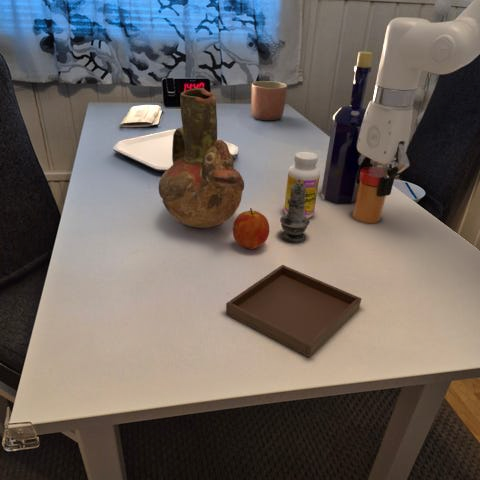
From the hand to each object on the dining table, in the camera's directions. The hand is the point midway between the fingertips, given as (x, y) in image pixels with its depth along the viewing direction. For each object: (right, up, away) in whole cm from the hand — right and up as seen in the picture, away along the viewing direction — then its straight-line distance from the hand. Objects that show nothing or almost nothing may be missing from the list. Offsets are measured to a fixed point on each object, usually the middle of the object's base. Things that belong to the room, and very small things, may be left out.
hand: (372, 188), depth 95 cm
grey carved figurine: (-18, -11, -4) cm, 21 cm away
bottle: (-4, +2, +13) cm, 13 cm away
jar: (0, -5, +4) cm, 7 cm away
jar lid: (0, +3, -2) cm, 3 cm away
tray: (-20, -27, -24) cm, 41 cm away
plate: (-46, +19, +32) cm, 59 cm away
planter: (-18, +46, +68) cm, 84 cm away
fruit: (-26, -14, -8) cm, 31 cm away
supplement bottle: (-15, -5, +4) cm, 16 cm away
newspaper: (-62, +42, +61) cm, 96 cm away
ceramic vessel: (-36, -8, -1) cm, 37 cm away
